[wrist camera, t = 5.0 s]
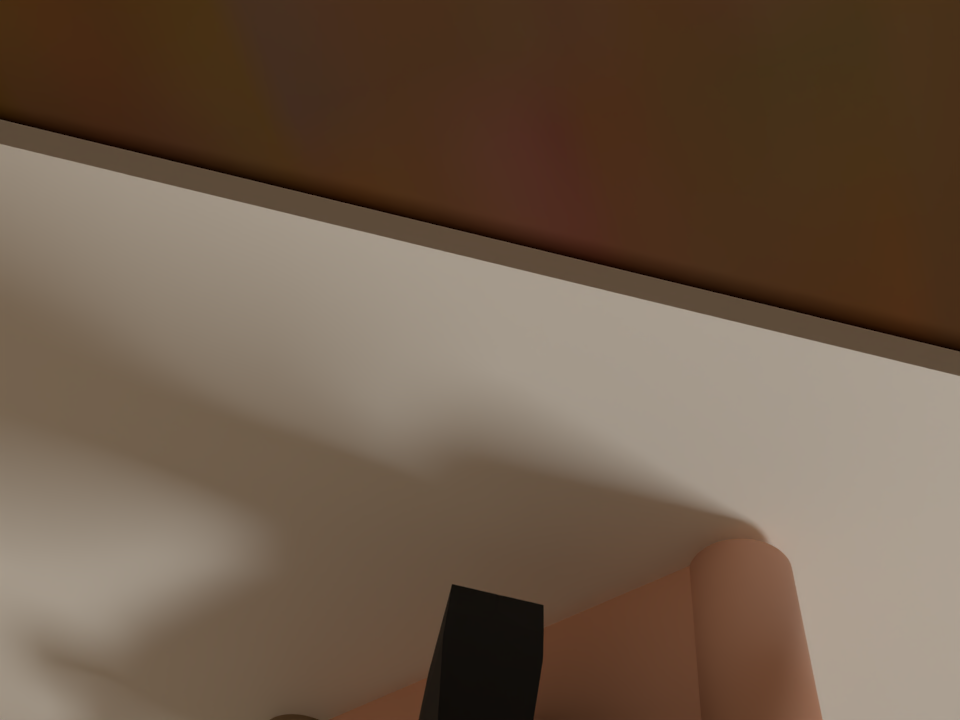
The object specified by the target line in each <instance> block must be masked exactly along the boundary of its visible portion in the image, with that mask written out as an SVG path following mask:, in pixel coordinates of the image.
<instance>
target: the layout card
mask: <svg viewBox="0 0 960 720" xmlns="http://www.w3.org/2000/svg"><path fill="white" fill-rule="evenodd" d="M737 538H744V539H754V540H759V541H762V542H765V543H768V544H770V545H772V546H774V547H776V548H777V549H779V550H780V551H781V552H782V553H783V554H784V555H785V556H786V557H787V558H788V560H789V562H790V564H791V567H792V571H793V576H794V581H795V586H796V591H797V596H798V601H799V606H800V610H801V615H802V620H803V625H804V630H805V635H806V640H807V645H808V650H809V655H810V660H811V665H812V670H813V675H814V680H815V685H816V690H817V694H818V699H819V704H820V709H821V714H822V719H823V720H960V352H959V351H955V350H951V349H947V348H943V347H939V346H935V345H930V344H926V343H922V342H918V341H914V340H910V339H906V338H901V337H897V336H893V335H889V334H885V333H881V332H877V331H873V330H868V329H864V328H860V327H856V326H852V325H848V324H844V323H839V322H835V321H831V320H827V319H823V318H819V317H815V316H811V315H806V314H802V313H798V312H794V311H790V310H786V309H782V308H777V307H773V306H769V305H765V304H761V303H757V302H753V301H749V300H744V299H740V298H736V297H732V296H728V295H724V294H720V293H715V292H711V291H707V290H703V289H699V288H695V287H691V286H687V285H682V284H678V283H674V282H670V281H666V280H662V279H658V278H653V277H649V276H645V275H641V274H637V273H633V272H629V271H625V270H620V269H616V268H612V267H608V266H604V265H600V264H596V263H591V262H587V261H583V260H579V259H575V258H571V257H567V256H563V255H558V254H554V253H550V252H546V251H542V250H538V249H534V248H529V247H525V246H521V245H517V244H513V243H509V242H505V241H501V240H496V239H492V238H488V237H484V236H480V235H476V234H472V233H467V232H463V231H459V230H455V229H451V228H447V227H443V226H439V225H434V224H430V223H426V222H422V221H418V220H414V219H410V218H406V217H401V216H397V215H393V214H389V213H385V212H381V211H377V210H372V209H368V208H364V207H360V206H356V205H352V204H348V203H344V202H339V201H335V200H331V199H327V198H323V197H319V196H315V195H310V194H306V193H302V192H298V191H294V190H290V189H286V188H282V187H277V186H273V185H269V184H265V183H261V182H257V181H253V180H248V179H244V178H240V177H236V176H232V175H228V174H224V173H220V172H215V171H211V170H207V169H203V168H199V167H195V166H191V165H186V164H182V163H178V162H174V161H170V160H166V159H162V158H158V157H153V156H149V155H145V154H141V153H137V152H133V151H129V150H124V149H120V148H116V147H112V146H108V145H104V144H100V143H96V142H91V141H87V140H83V139H79V138H75V137H71V136H67V135H62V134H58V133H54V132H50V131H46V130H42V129H38V128H34V127H29V126H25V125H21V124H17V123H13V122H9V121H5V120H0V720H270V719H272V718H274V717H276V716H279V715H285V714H299V715H305V716H309V717H313V718H316V719H319V720H329V719H332V718H334V717H336V716H339V715H341V714H343V713H346V712H348V711H350V710H353V709H355V708H357V707H360V706H362V705H364V704H367V703H369V702H371V701H374V700H376V699H378V698H381V697H383V696H386V695H388V694H390V693H393V692H395V691H397V690H400V689H402V688H404V687H407V686H409V685H411V684H414V683H416V682H418V681H421V680H423V679H425V678H427V677H428V673H429V669H430V665H431V661H432V658H433V654H434V650H435V646H436V643H437V639H438V635H439V631H440V628H441V624H442V620H443V616H444V612H445V609H446V605H447V601H448V597H449V594H450V590H451V586H452V584H454V585H459V586H463V587H467V588H472V589H476V590H480V591H485V592H489V593H493V594H497V595H502V596H507V597H511V598H515V599H520V600H524V601H528V602H533V603H537V604H541V605H544V628H545V627H547V626H550V625H552V624H554V623H557V622H559V621H561V620H564V619H566V618H568V617H571V616H573V615H575V614H578V613H580V612H583V611H585V610H587V609H590V608H592V607H594V606H597V605H599V604H601V603H604V602H606V601H608V600H611V599H613V598H615V597H618V596H620V595H622V594H625V593H627V592H629V591H632V590H634V589H636V588H639V587H641V586H644V585H646V584H648V583H651V582H653V581H655V580H658V579H660V578H662V577H665V576H667V575H669V574H672V573H674V572H676V571H679V570H681V569H683V568H686V567H688V566H690V564H691V561H692V560H693V558H694V557H695V556H696V555H697V554H698V553H699V552H700V551H701V550H703V549H704V548H706V547H707V546H709V545H711V544H714V543H716V542H719V541H723V540H728V539H737Z"/></svg>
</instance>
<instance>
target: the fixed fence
mask: <svg viewBox="0 0 960 720" xmlns="http://www.w3.org/2000/svg"><path fill="white" fill-rule="evenodd" d="M270 720H319V719H316V718H313V717H309V716H305V715H299V714H285V715H279V716H276V717H274V718H272V719H270Z"/></svg>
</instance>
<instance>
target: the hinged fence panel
mask: <svg viewBox="0 0 960 720" xmlns="http://www.w3.org/2000/svg"><path fill="white" fill-rule="evenodd" d="M426 682H427V678H425V679H423V680H421V681H418V682H416V683H414V684H411V685H409V686H407V687H404V688H402V689H400V690H397V691H395V692H393V693H390V694H388V695H386V696H383V697H381V698H378V699H376V700H374V701H371V702H369V703H367V704H364V705H362V706H360V707H357V708H355V709H353V710H350V711H348V712H346V713H343V714H341V715H339V716H336V717H334V718H332V719H329V720H419V715H420V710H421V705H422V701H423V696H424V691H425V687H426ZM534 720H823V719H822V714H821V709H820V704H819V699H818V694H817V690H816V685H815V680H814V675H813V670H812V665H811V660H810V655H809V650H808V645H807V640H806V635H805V630H804V625H803V620H802V615H801V610H800V606H799V601H798V596H797V591H796V586H795V581H794V576H793V571H792V567H791V564H790V562H789V560H788V558H787V557H786V556H785V555H784V554H783V553H782V552H781V551H780V550H779V549H777V548H776V547H774V546H772V545H770V544H768V543H765V542H762V541H759V540H754V539H744V538H737V539H728V540H723V541H719V542H716V543H714V544H711V545H709V546H707V547H706V548H704V549H703V550H701V551H700V552H699V553H698V554H697V555H696V556H695V557H694V558H693V560H692V561H691V564H690V566H688V567H686V568H683V569H681V570H679V571H676V572H674V573H672V574H669V575H667V576H665V577H662V578H660V579H658V580H655V581H653V582H651V583H648V584H646V585H644V586H641V587H639V588H636V589H634V590H632V591H629V592H627V593H625V594H622V595H620V596H618V597H615V598H613V599H611V600H608V601H606V602H604V603H601V604H599V605H597V606H594V607H592V608H590V609H587V610H585V611H583V612H580V613H578V614H575V615H573V616H571V617H568V618H566V619H564V620H561V621H559V622H557V623H554V624H552V625H550V626H547V627H545V628H544V641H543V663H542V669H541V676H540V682H539V688H538V695H537V701H536V707H535V713H534Z"/></svg>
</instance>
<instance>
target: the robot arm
mask: <svg viewBox="0 0 960 720" xmlns="http://www.w3.org/2000/svg"><path fill="white" fill-rule="evenodd" d="M543 641H544V605H541V604H537V603H533V602H528V601H524V600H520V599H515V598H511V597H507V596H502V595H497V594H493V593H489V592H485V591H480V590H476V589H472V588H467V587H463V586H459V585H454V584H452V586H451V590H450V594H449V597H448V601H447V605H446V609H445V612H444V616H443V620H442V624H441V628H440V631H439V635H438V639H437V643H436V646H435V650H434V654H433V658H432V661H431V665H430V669H429V673H428V677H427V682H426V687H425V691H424V696H423V701H422V705H421V710H420V715H419V720H534V713H535V707H536V701H537V695H538V688H539V682H540V676H541V669H542V663H543Z"/></svg>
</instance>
